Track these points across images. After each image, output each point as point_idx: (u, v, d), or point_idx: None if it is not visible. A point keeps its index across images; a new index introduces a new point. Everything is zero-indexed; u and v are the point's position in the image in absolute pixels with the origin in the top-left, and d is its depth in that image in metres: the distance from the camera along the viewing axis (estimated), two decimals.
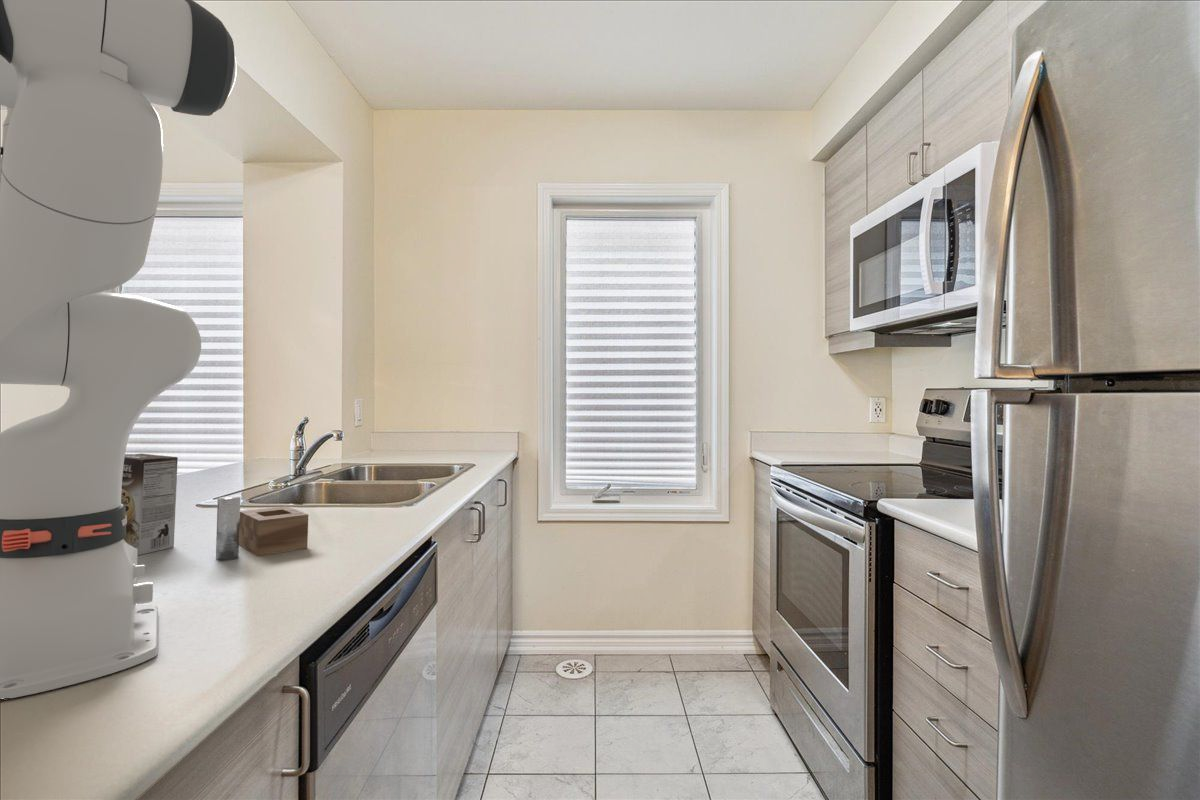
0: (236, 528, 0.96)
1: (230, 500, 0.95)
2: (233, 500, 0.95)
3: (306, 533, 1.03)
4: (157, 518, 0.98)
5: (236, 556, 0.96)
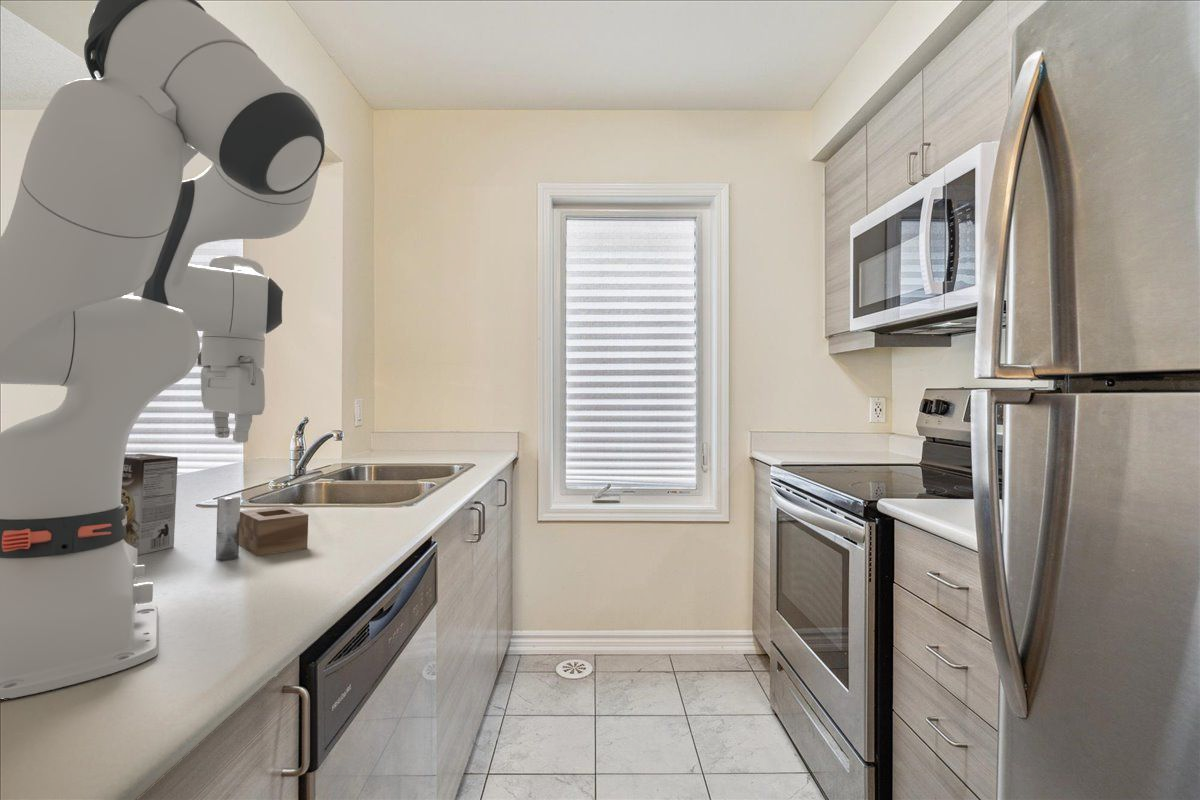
0: (236, 528, 0.96)
1: (230, 500, 0.95)
2: (233, 500, 0.95)
3: (306, 533, 1.03)
4: (157, 518, 0.98)
5: (236, 556, 0.96)
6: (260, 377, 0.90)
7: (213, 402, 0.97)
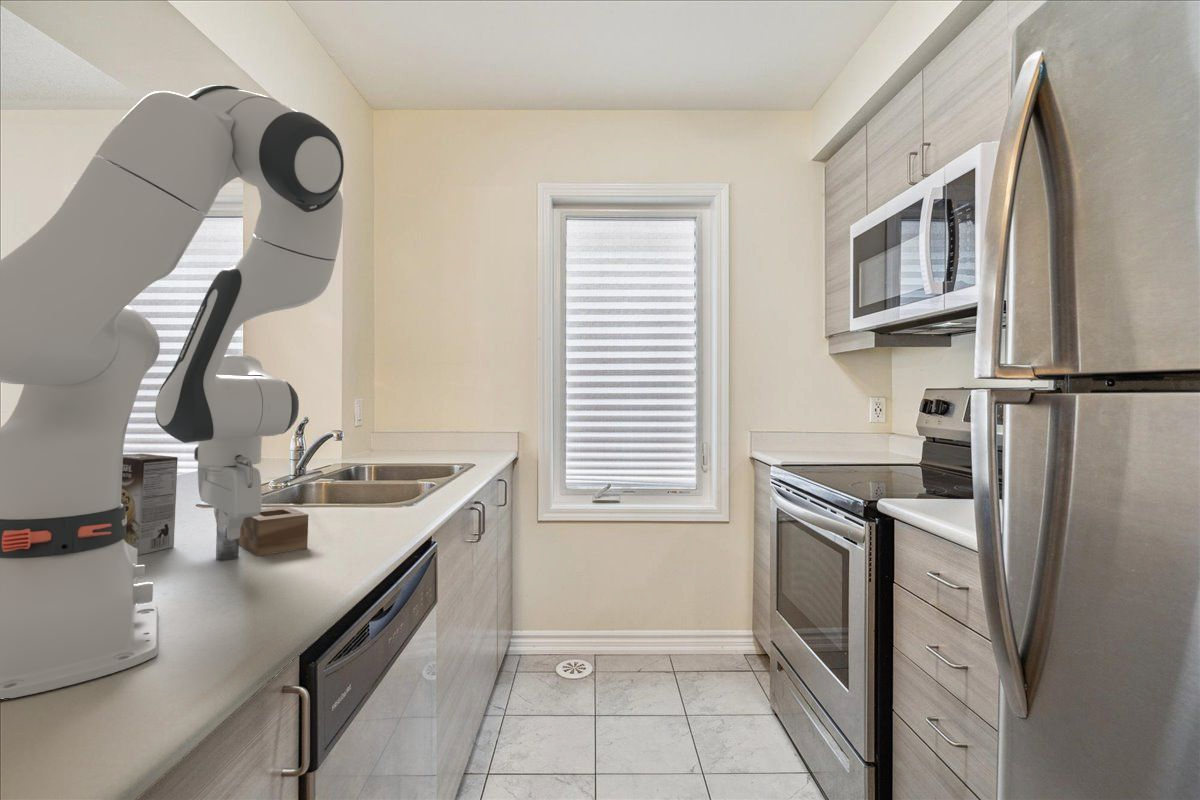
0: None
1: None
2: None
3: (306, 533, 1.03)
4: (157, 518, 0.98)
5: (236, 556, 0.96)
6: (257, 478, 0.90)
7: (210, 497, 0.97)
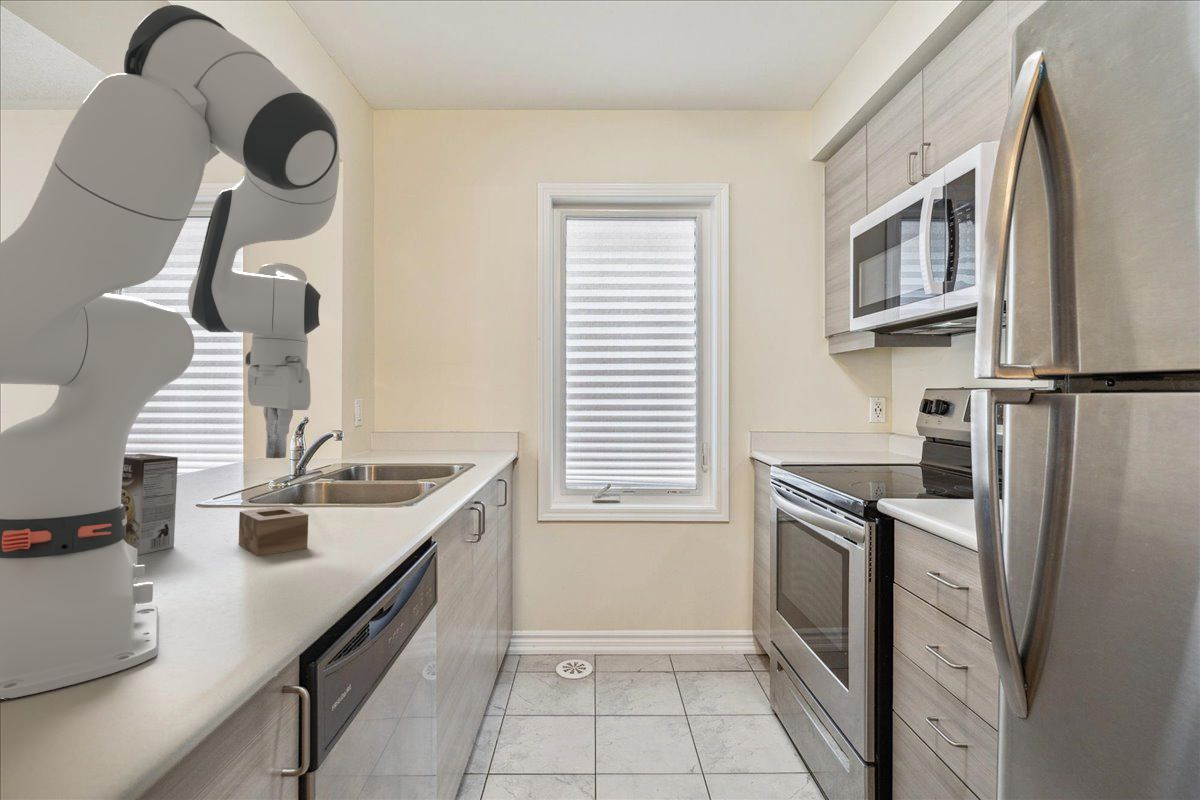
0: None
1: None
2: None
3: (306, 533, 1.03)
4: (157, 518, 0.98)
5: (284, 455, 1.04)
6: (306, 375, 0.98)
7: (260, 398, 1.05)
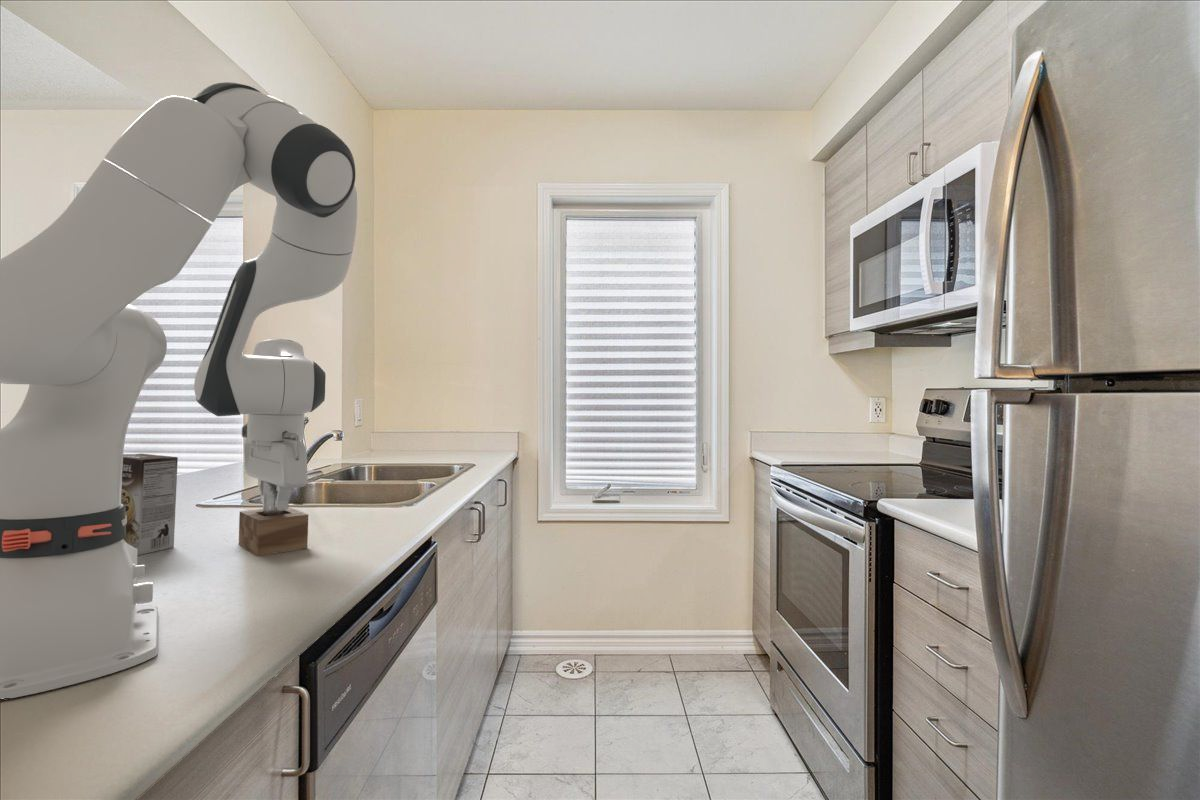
0: None
1: None
2: None
3: (306, 533, 1.03)
4: (157, 518, 0.98)
5: None
6: (303, 452, 0.98)
7: (257, 471, 1.05)
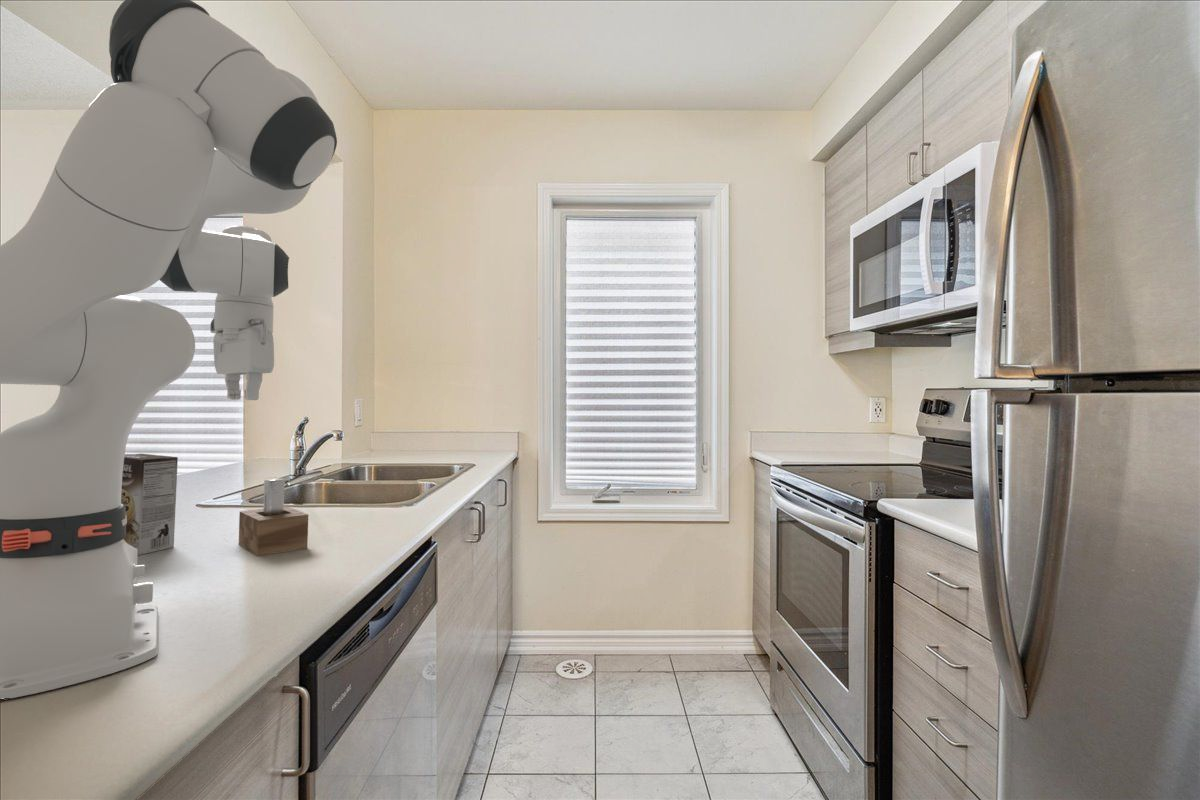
0: (281, 507, 1.03)
1: (276, 481, 1.02)
2: (278, 481, 1.03)
3: (306, 533, 1.03)
4: (157, 518, 0.98)
5: None
6: (269, 337, 0.96)
7: (225, 365, 1.03)
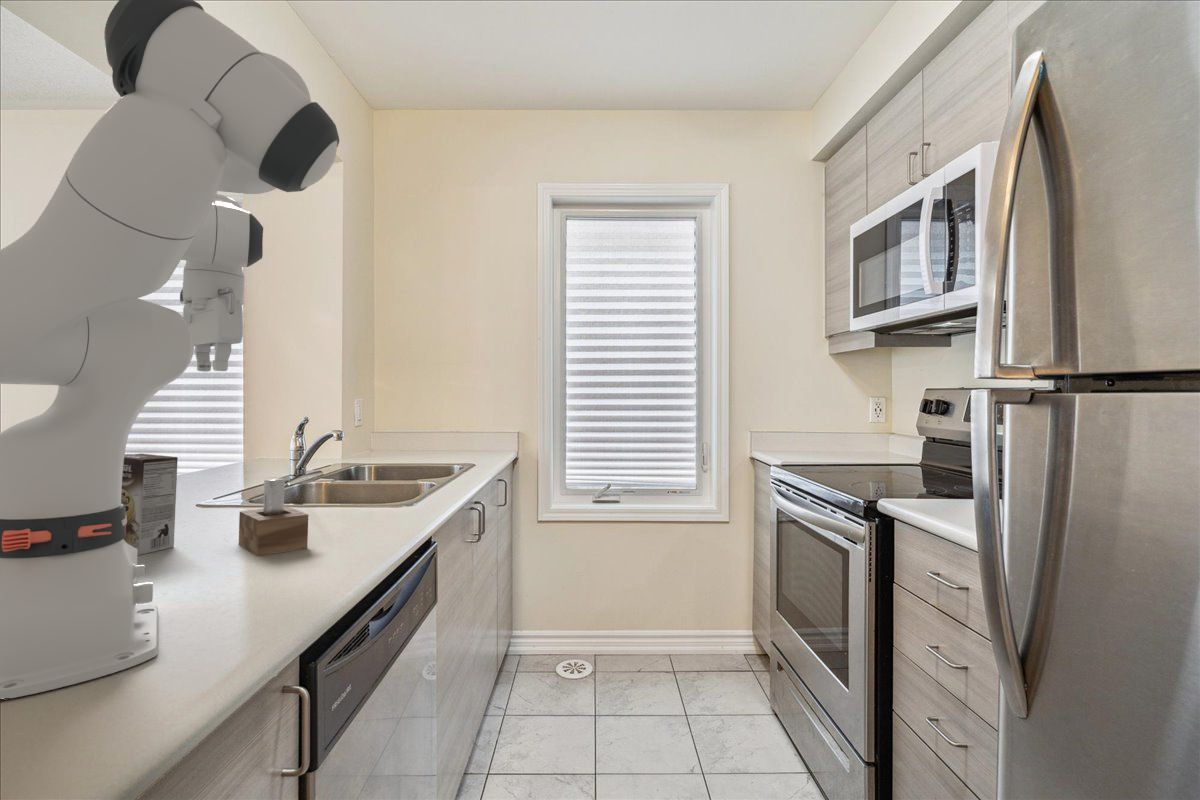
0: (281, 507, 1.03)
1: (276, 481, 1.02)
2: (278, 481, 1.03)
3: (306, 533, 1.03)
4: (157, 518, 0.98)
5: None
6: (238, 307, 0.95)
7: (195, 336, 1.01)
